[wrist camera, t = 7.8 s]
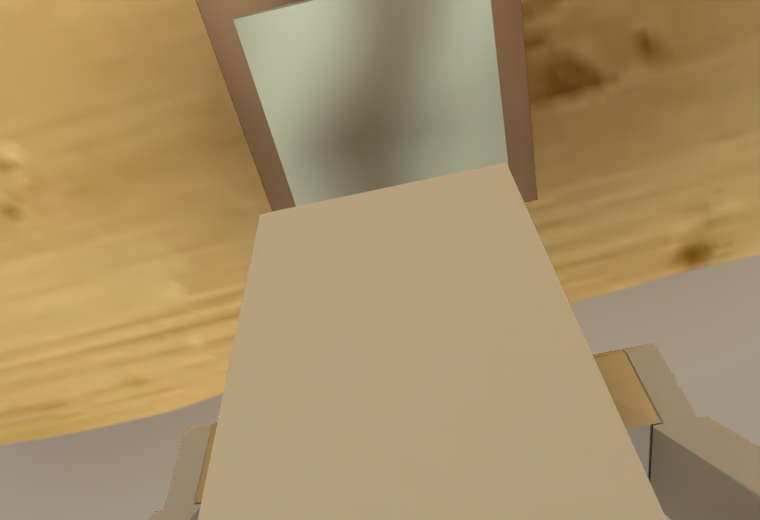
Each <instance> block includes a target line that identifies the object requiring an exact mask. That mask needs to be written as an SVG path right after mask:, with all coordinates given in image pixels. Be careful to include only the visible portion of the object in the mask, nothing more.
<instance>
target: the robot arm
mask: <svg viewBox="0 0 760 520" xmlns="http://www.w3.org/2000/svg"><path fill="white" fill-rule="evenodd" d="M593 357H594V359H595V361H596V363H597V366H598V368H599V370H600V372H601V374H602V377H603V379H604V381H605V383H606V386H607V388H608V390H609V392H610V394H611V397H612V399H613V401H614V403H615V406H616V408H617V410H618V412H619V414H620V417H621V419H622V421H623V423H624V426H625V428H626V430H627V432H628V435H629V437H630V439H631V441H632V443H633V446H634V448H635V450H636V452H637V455H638V457H639V459H640V461H641V463H642V466H643V468H644V470H645V472H646V475H647V477H648V479H649V481H650V483H651V486H652V488H653V490H654V492H655V495H656V497H657V499H658V501H659V504H660V506H661V508H662V510H663V512H664V514H665V515H666V516H668V517H669V518H670V519H671V520H760V447H759V446H758V445H756V444H754V443H752V442H751V441H749V440H747V439H745V438H744V437H742V436H740V435H739V434H737V433H735V432H733V431H732V430H730V429H728V428H727V427H725V426H723V425H722V424H720V423H718V422H717V421H715V420H713V419H711V418H710V417H708V416H707V417H700V418H698V416H697V415H696V413H695V411H694V409H693V408H692V406H691V404H690V403H689V401H688V399H687V397H686V396H685V394H684V392H683V391H682V389H681V387H680V385H679V384H678V382H677V380H676V379H675V377H674V375H673V373H672V372H671V370H670V368H669V367H668V365H667V363H666V362H665V360H664V358H663V356H662V355H661V353H660V351H659V349H658V348H657V347H656V346H655V345H653V344H647V345H642V346H636V347H631V348H626V349H622V350H615V351H609V352H604V353H599V354H594V355H593ZM216 428H217V423H215V424H210V425H204V426H197V427H192V428H188V429H187V431H186V432H185V434H184V435H183V437H182V441H181V445H180V449H179V453H178V457H177V460H176V465H175V468H174V472H173V476H172V480H171V484H170V488H169V491H168V496H167V499H166V503H165V507H164V510H160V511H156V512H155V513H154V514H153V515H152V516H151V517H150V518H149V520H198V516H199V511H200V506H201V501H202V496H203V491H204V486H205V482H206V477H207V472H208V467H209V462H210V457H211V452H212V447H213V442H214V437H215V433H216Z"/></svg>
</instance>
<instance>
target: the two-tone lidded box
mask: <svg viewBox="0 0 760 520" xmlns="http://www.w3.org/2000/svg"><path fill="white" fill-rule="evenodd" d="M198 520H667V519H666V517H665V515H664V512H663V510H662V508H661V506H660V504H659V501H658V499H657V497H656V495H655V492H654V490H653V488H652V486H651V483H650V481H649V479H648V477H647V475H646V472H645V470H644V468H643V466H642V463H641V461H640V459H639V457H638V455H637V452H636V450H635V448H634V446H633V443H632V441H631V439H630V437H629V435H628V432H627V430H626V428H625V426H624V423H623V421H622V419H621V417H620V414H619V412H618V410H617V408H616V406H615V403H614V401H613V399H612V397H611V394H610V392H609V390H608V388H607V386H606V383H605V381H604V379H603V377H602V374H601V372H600V370H599V368H598V366H597V363H596V361H595V359H594V357H593V354H592V352H591V350H590V348H589V345H588V343H587V341H586V339H585V337H584V334H583V332H582V330H581V328H580V325H579V323H578V321H577V319H576V317H575V314H574V312H573V310H572V308H571V305H570V303H569V301H568V299H567V297H566V294H565V292H564V290H563V288H562V285H561V283H560V281H559V279H558V276H557V274H556V272H555V270H554V268H553V265H552V263H551V261H550V259H549V256H548V254H547V252H546V250H545V248H544V245H543V243H542V241H541V239H540V236H539V234H538V232H537V230H536V228H535V225H534V223H533V221H532V219H531V216H530V214H529V212H528V210H527V207H526V205H525V203H524V201H523V199H522V196H521V194H520V192H519V190H518V187H517V185H516V183H515V181H514V179H513V176H512V174H511V172H510V170H509V167H508V165H507V163H501V164H496V165H492V166H487V167H482V168H477V169H473V170H468V171H463V172H458V173H454V174H449V175H444V176H439V177H435V178H430V179H425V180H420V181H416V182H411V183H406V184H401V185H396V186H392V187H387V188H382V189H377V190H373V191H368V192H363V193H358V194H354V195H349V196H344V197H339V198H335V199H330V200H325V201H320V202H316V203H311V204H306V205H301V206H297V207H292V208H287V209H282V210H278V211H273V212H268V213H263V214H260V217H259V222H258V226H257V231H256V236H255V241H254V246H253V251H252V256H251V261H250V266H249V271H248V275H247V280H246V285H245V290H244V295H243V300H242V305H241V310H240V315H239V320H238V325H237V329H236V334H235V339H234V344H233V349H232V354H231V359H230V364H229V369H228V374H227V379H226V383H225V388H224V393H223V398H222V403H221V408H220V413H219V418H218V423H217V428H216V433H215V437H214V442H213V447H212V452H211V457H210V462H209V467H208V472H207V477H206V482H205V486H204V491H203V496H202V501H201V506H200V511H199V516H198Z"/></svg>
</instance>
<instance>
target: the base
mask: <svg viewBox="0 0 760 520" xmlns="http://www.w3.org/2000/svg"><path fill="white" fill-rule="evenodd" d="M196 2H197V5H198V8H199V11H200V13H201V16H202V19H203V22H204V24H205V27H206V30H207V33H208V36H209V38H210V41H211V44H212V47H213V49H214V52H215V55H216V58H217V60H218V63H219V66H220V69H221V71H222V74H223V77H224V80H225V82H226V85H227V88H228V91H229V93H230V96H231V99H232V102H233V104H234V107H235V110H236V113H237V115H238V118H239V121H240V124H241V126H242V129H243V132H244V135H245V137H246V140H247V143H248V146H249V148H250V151H251V154H252V157H253V159H254V162H255V165H256V168H257V170H258V173H259V176H260V179H261V181H262V184H263V187H264V190H265V192H266V195H267V198H268V201H269V203H270V206H271V209H272V212H273V211H278V210H282V209H287V208H292V207H297V206H301V205H306V204H311V203H316V202H320V201H325V200H330V199H335V198H339V197H344V196H349V195H354V194H358V193H363V192H368V191H373V190H377V189H382V188H387V187H392V186H396V185H401V184H406V183H411V182H416V181H420V180H425V179H430V178H435V177H439V176H444V175H449V174H454V173H458V172H463V171H468V170H473V169H477V168H482V167H487V166H492V165H496V164H501V163H507V165H508V167H509V170H510V172H511V174H512V176H513V179H514V181H515V183H516V185H517V187H518V190H519V192H520V194H521V196H522V199H523V201H524V202H528V201H533V200H537V189H536V177H535V164H534V152H533V140H532V127H531V115H530V103H529V90H528V78H527V66H526V54H525V41H524V29H523V17H522V4H521V0H196Z"/></svg>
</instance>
